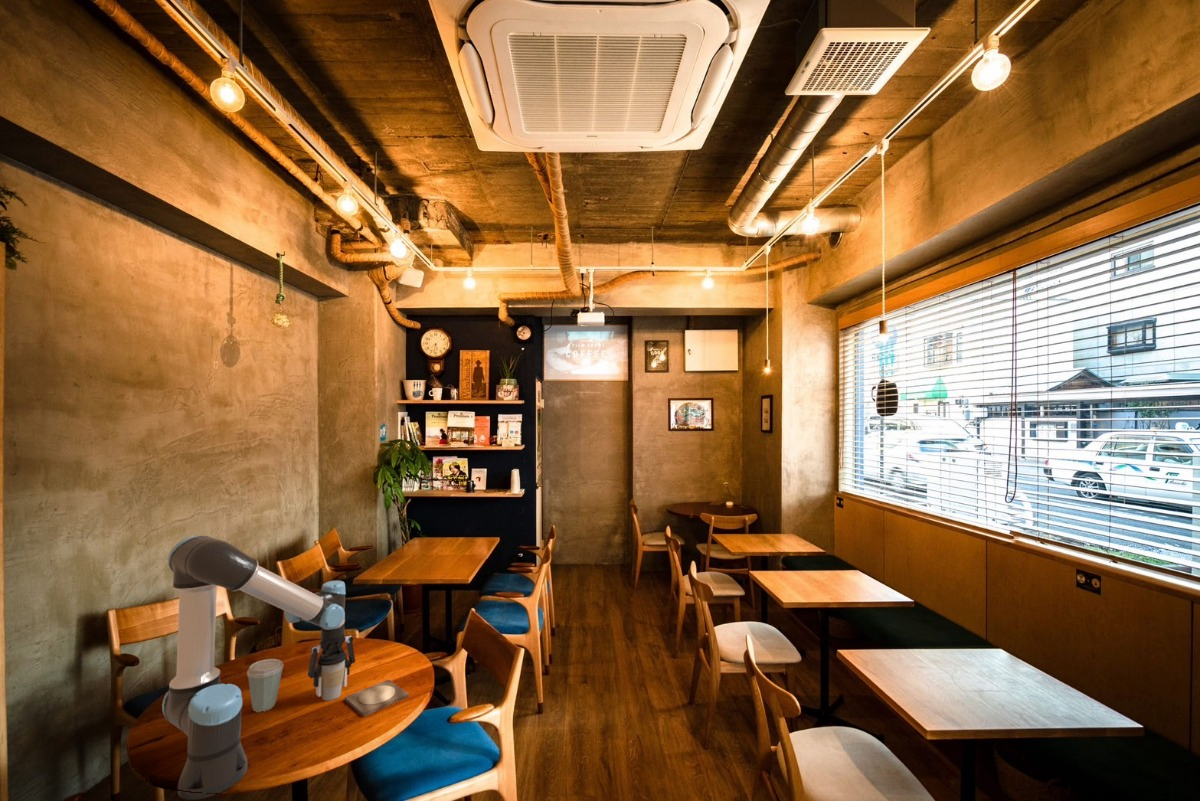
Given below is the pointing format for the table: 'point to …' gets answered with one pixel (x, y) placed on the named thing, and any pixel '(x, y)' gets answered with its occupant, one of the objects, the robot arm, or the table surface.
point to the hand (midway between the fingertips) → (331, 689)
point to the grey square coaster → (376, 697)
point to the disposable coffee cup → (264, 683)
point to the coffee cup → (332, 675)
